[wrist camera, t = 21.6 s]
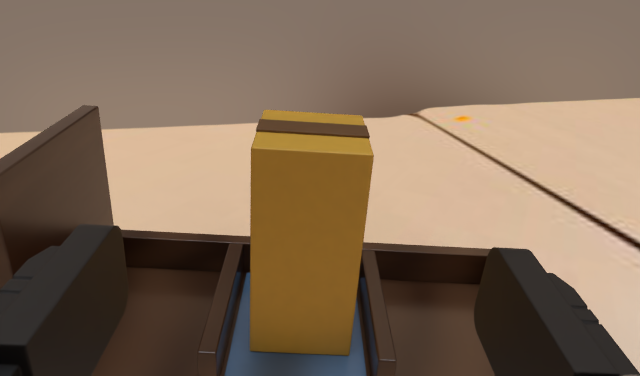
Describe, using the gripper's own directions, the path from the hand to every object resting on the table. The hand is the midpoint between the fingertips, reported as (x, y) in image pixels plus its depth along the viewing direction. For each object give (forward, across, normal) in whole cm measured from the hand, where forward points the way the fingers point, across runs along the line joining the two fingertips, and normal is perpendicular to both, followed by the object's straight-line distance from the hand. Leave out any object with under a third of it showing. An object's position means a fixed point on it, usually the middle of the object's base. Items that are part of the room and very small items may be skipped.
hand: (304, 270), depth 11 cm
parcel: (+10, 0, +10) cm, 15 cm away
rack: (+11, 0, +11) cm, 15 cm away
